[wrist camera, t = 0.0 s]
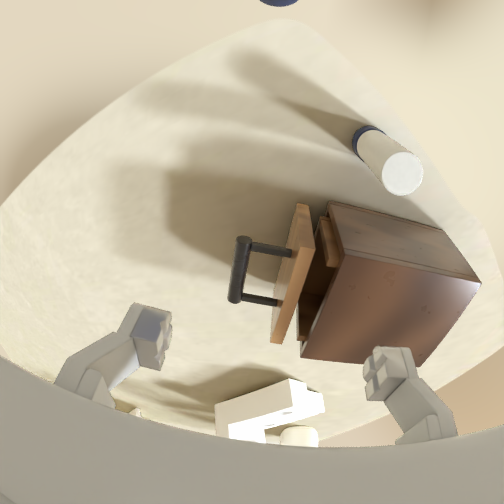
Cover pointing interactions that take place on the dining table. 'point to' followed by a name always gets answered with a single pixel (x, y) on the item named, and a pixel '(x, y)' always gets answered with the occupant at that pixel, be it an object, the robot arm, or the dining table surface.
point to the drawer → (291, 273)
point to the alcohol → (299, 436)
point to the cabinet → (388, 288)
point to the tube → (388, 160)
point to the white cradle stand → (266, 410)
